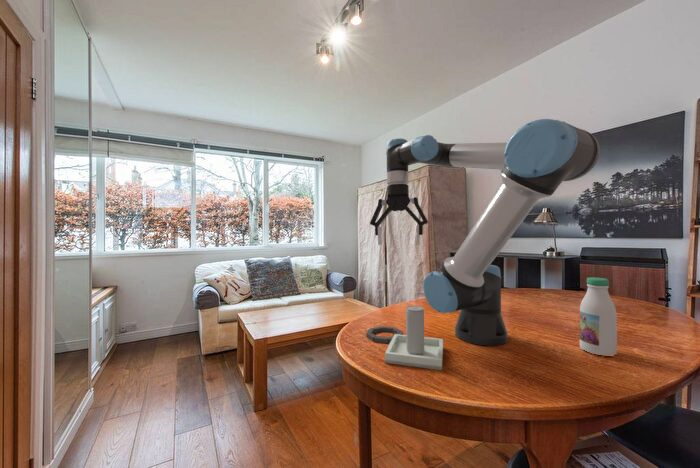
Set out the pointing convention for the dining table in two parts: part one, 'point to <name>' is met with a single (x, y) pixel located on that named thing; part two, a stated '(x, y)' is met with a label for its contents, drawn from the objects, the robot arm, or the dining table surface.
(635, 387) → the dining table surface
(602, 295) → the milk bottle
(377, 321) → the dining table surface
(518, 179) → the robot arm
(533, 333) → the dining table surface
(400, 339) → the tray
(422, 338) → the beverage can
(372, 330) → the seat ring
